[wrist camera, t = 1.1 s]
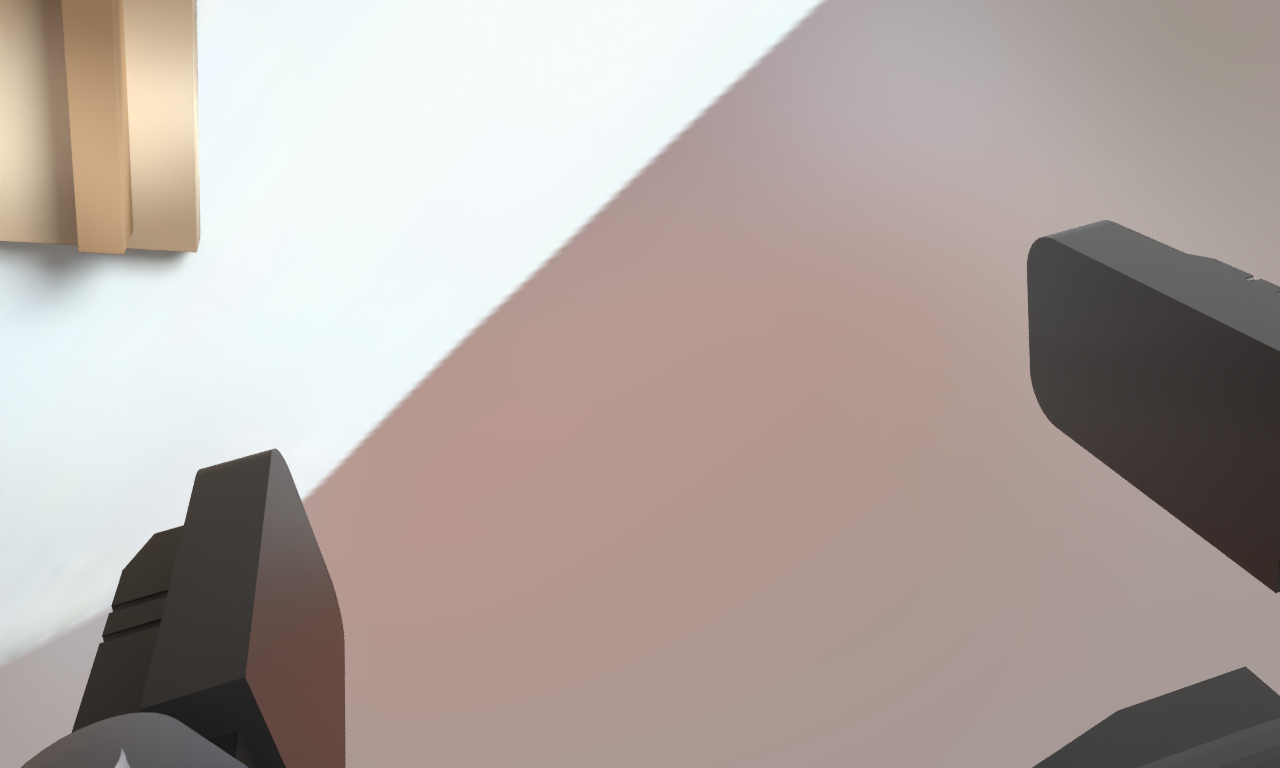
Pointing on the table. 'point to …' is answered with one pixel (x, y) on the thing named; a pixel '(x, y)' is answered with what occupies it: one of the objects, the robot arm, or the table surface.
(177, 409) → the table surface
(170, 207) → the jig
